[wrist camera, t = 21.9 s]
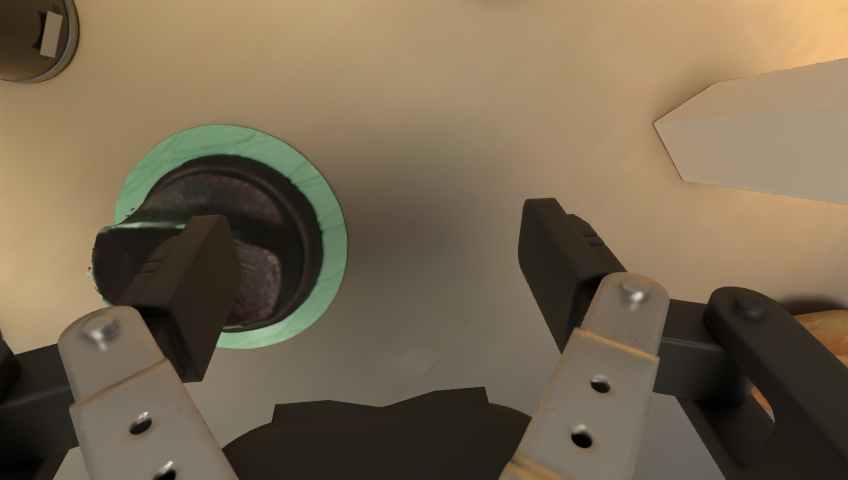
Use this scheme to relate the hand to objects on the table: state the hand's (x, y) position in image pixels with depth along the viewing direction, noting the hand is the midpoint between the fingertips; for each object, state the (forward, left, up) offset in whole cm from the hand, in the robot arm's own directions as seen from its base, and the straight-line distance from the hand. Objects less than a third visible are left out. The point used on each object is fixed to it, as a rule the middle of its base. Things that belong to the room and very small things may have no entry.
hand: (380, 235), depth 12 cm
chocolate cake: (-12, -11, -27) cm, 31 cm away
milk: (+23, +11, -27) cm, 37 cm away
